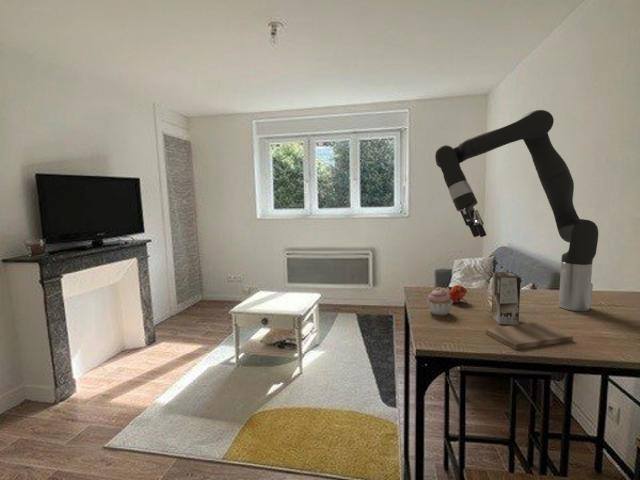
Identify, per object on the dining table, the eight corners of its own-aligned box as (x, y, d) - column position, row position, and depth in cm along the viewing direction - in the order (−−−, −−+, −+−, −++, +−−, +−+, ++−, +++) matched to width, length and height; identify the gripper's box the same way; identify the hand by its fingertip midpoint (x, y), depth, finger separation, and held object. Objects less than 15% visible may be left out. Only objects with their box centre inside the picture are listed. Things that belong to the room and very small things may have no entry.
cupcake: (422, 309, 133) (422, 284, 132) (446, 308, 134) (446, 283, 132) (431, 318, 124) (432, 290, 123) (457, 316, 124) (458, 289, 123)
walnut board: (538, 326, 114) (538, 321, 114) (572, 340, 102) (573, 336, 102) (485, 333, 109) (485, 328, 109) (515, 349, 98) (515, 344, 97)
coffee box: (519, 325, 115) (521, 277, 113) (498, 324, 116) (500, 277, 114) (510, 315, 124) (512, 271, 122) (490, 315, 125) (492, 271, 123)
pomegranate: (464, 305, 143) (445, 289, 147) (476, 293, 139) (455, 277, 143) (459, 312, 138) (439, 295, 141) (472, 300, 134) (450, 283, 137)
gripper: (466, 189, 121) (485, 232, 117) (477, 193, 132) (495, 232, 128) (446, 198, 125) (464, 240, 121) (458, 202, 136) (475, 240, 132)
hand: (480, 236), depth 125 cm, fingers open, 8 cm apart
